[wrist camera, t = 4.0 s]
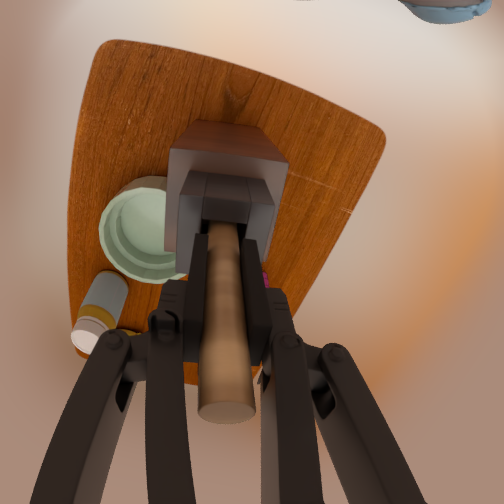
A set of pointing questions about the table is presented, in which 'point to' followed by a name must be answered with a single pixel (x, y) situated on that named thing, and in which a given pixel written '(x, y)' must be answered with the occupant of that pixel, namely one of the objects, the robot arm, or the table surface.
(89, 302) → the bottle
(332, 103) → the table surface
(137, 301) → the table surface
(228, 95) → the table surface
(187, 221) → the utensil stand
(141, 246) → the bowl
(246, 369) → the stirring stick
